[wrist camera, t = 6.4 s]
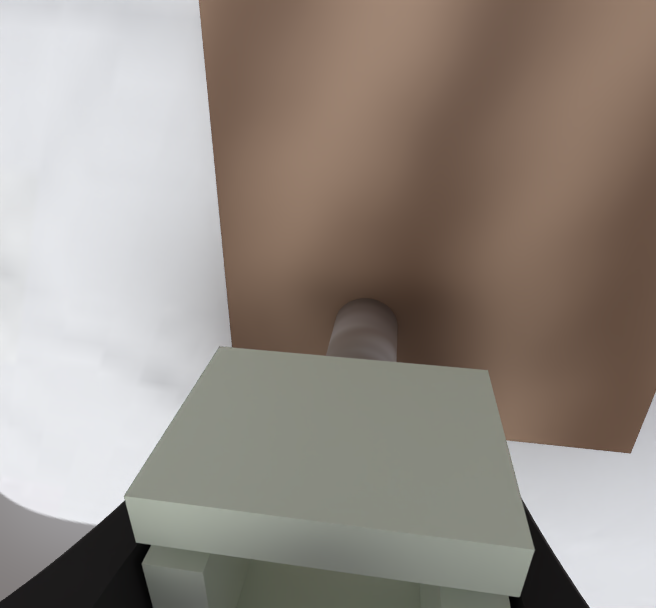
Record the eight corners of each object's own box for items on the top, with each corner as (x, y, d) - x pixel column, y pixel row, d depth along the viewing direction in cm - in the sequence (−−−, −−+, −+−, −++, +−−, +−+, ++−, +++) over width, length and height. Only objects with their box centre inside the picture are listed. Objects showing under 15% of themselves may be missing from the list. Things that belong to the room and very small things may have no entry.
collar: (487, 370, 10) (535, 549, 6) (452, 551, 12) (470, 751, 9) (219, 346, 10) (124, 496, 7) (239, 523, 13) (176, 697, 9)
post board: (886, -268, 10) (1451, -648, 5) (620, 434, 19) (706, 587, 13) (192, -225, 12) (13, -459, 6) (245, 396, 21) (188, 517, 15)
